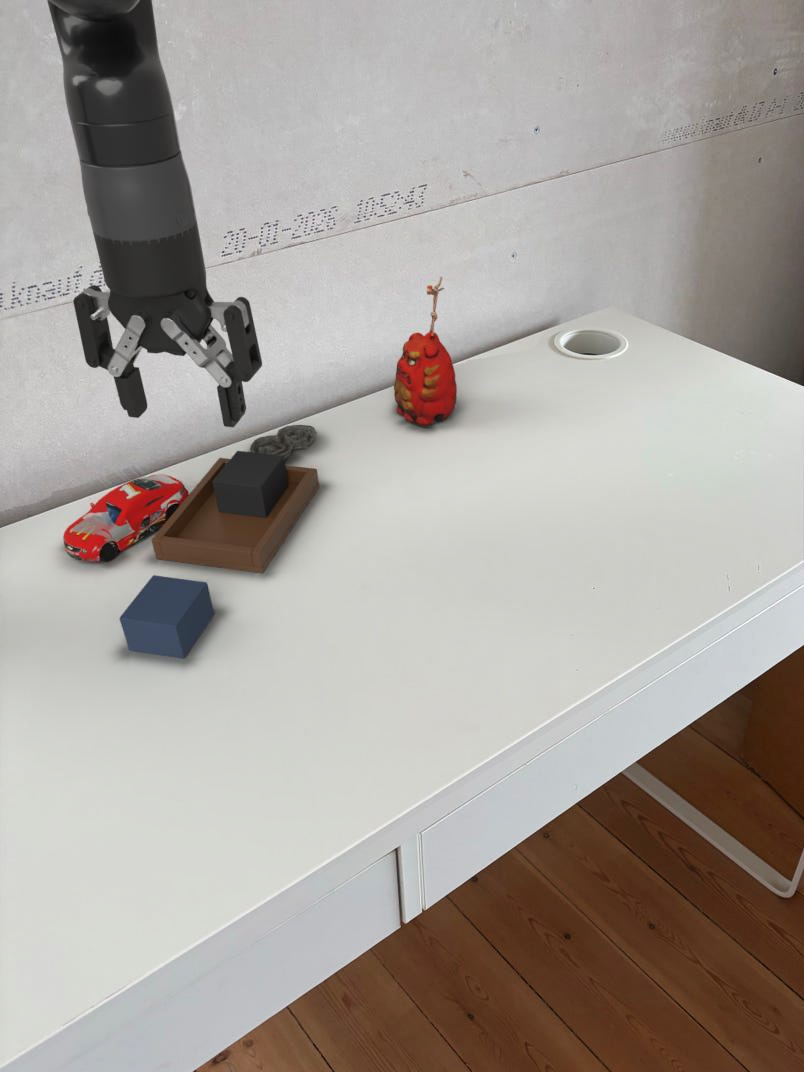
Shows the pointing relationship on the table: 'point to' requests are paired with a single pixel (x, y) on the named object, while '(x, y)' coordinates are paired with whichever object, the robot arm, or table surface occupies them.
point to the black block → (251, 484)
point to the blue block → (167, 616)
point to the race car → (124, 517)
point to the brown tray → (232, 525)
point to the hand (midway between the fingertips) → (185, 418)
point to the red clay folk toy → (425, 376)
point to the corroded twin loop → (285, 440)
